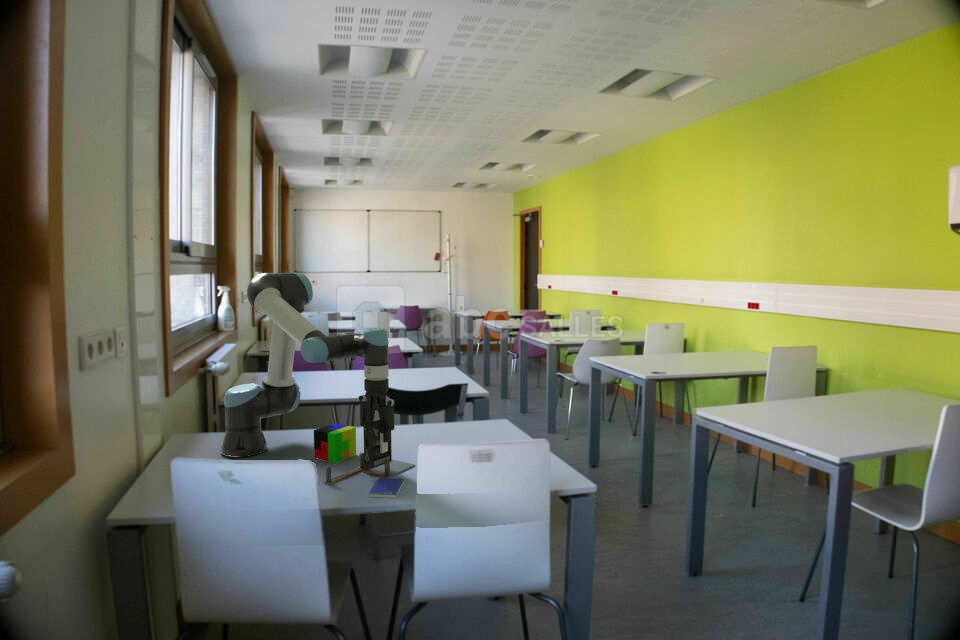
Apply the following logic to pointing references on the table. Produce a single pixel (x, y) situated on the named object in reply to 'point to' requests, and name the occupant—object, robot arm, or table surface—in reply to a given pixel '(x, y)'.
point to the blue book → (386, 487)
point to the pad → (395, 467)
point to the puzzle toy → (334, 442)
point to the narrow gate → (378, 473)
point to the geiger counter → (374, 445)
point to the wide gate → (343, 476)
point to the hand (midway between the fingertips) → (377, 450)
